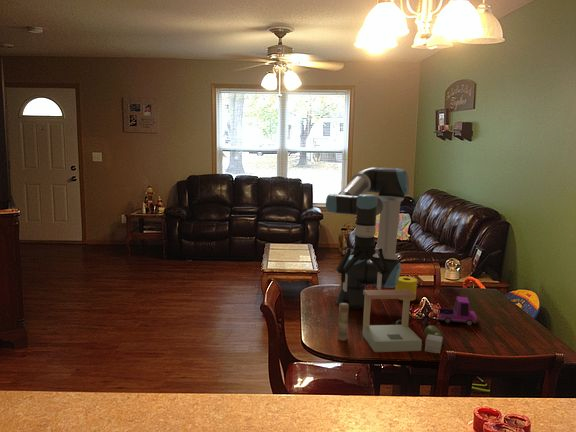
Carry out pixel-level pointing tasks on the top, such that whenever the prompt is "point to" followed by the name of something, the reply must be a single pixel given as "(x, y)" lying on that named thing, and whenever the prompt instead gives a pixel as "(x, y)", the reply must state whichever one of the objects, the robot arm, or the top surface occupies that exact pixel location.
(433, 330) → the pear
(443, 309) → the toy truck
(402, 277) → the tape roll
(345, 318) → the peg
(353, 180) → the robot arm
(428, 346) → the small box
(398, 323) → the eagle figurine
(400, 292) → the beige arch frame
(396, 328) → the socket board
